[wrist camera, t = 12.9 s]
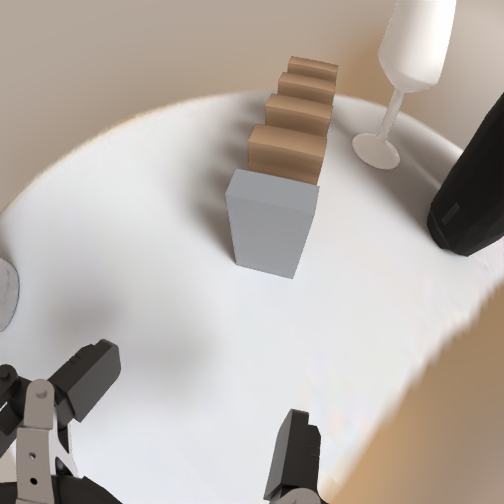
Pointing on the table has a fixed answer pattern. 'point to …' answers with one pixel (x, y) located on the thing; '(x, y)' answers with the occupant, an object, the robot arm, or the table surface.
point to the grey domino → (269, 220)
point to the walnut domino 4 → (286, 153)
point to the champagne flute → (408, 66)
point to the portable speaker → (473, 192)
